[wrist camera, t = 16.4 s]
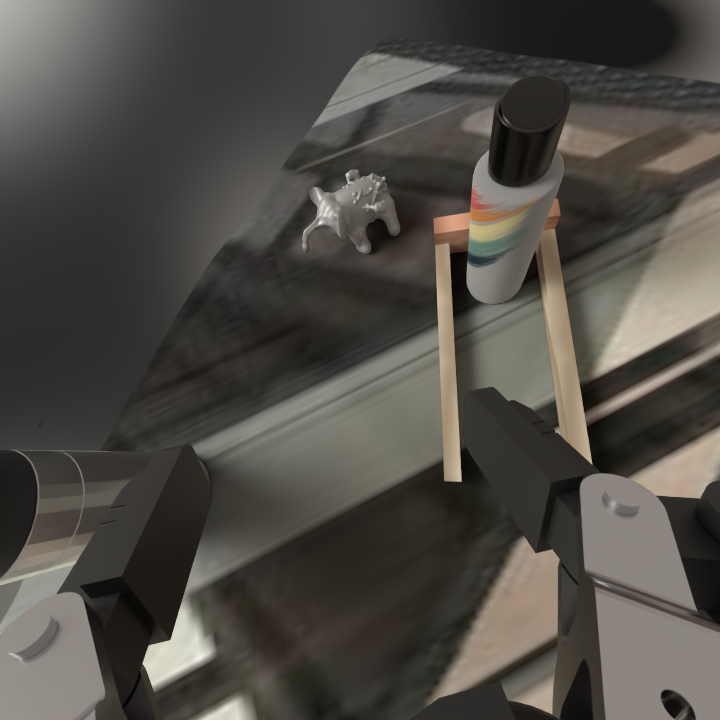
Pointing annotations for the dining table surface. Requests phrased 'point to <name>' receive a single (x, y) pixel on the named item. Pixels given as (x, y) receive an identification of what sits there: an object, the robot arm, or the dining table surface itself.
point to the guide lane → (570, 410)
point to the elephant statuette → (353, 210)
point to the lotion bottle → (515, 186)
